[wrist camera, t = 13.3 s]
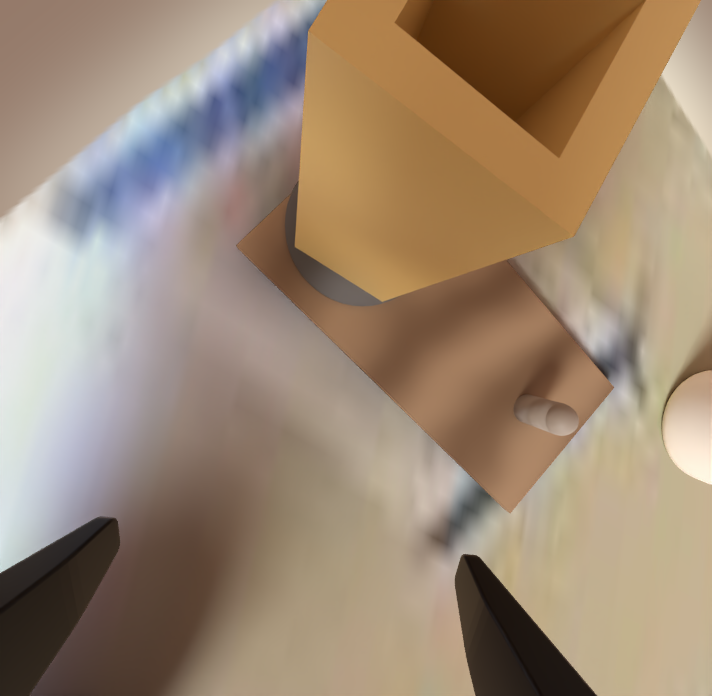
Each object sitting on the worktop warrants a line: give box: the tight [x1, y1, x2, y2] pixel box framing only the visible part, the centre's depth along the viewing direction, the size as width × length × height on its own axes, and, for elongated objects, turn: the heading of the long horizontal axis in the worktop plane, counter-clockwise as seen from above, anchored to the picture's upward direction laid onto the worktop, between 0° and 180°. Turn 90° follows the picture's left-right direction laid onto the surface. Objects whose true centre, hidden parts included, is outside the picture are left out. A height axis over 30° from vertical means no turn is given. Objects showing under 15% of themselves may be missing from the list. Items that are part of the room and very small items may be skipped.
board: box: [236, 181, 614, 513], centre depth 19 cm, size 23×11×4 cm, turn 46°
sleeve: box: [295, 0, 701, 302], centre depth 12 cm, size 6×6×13 cm
